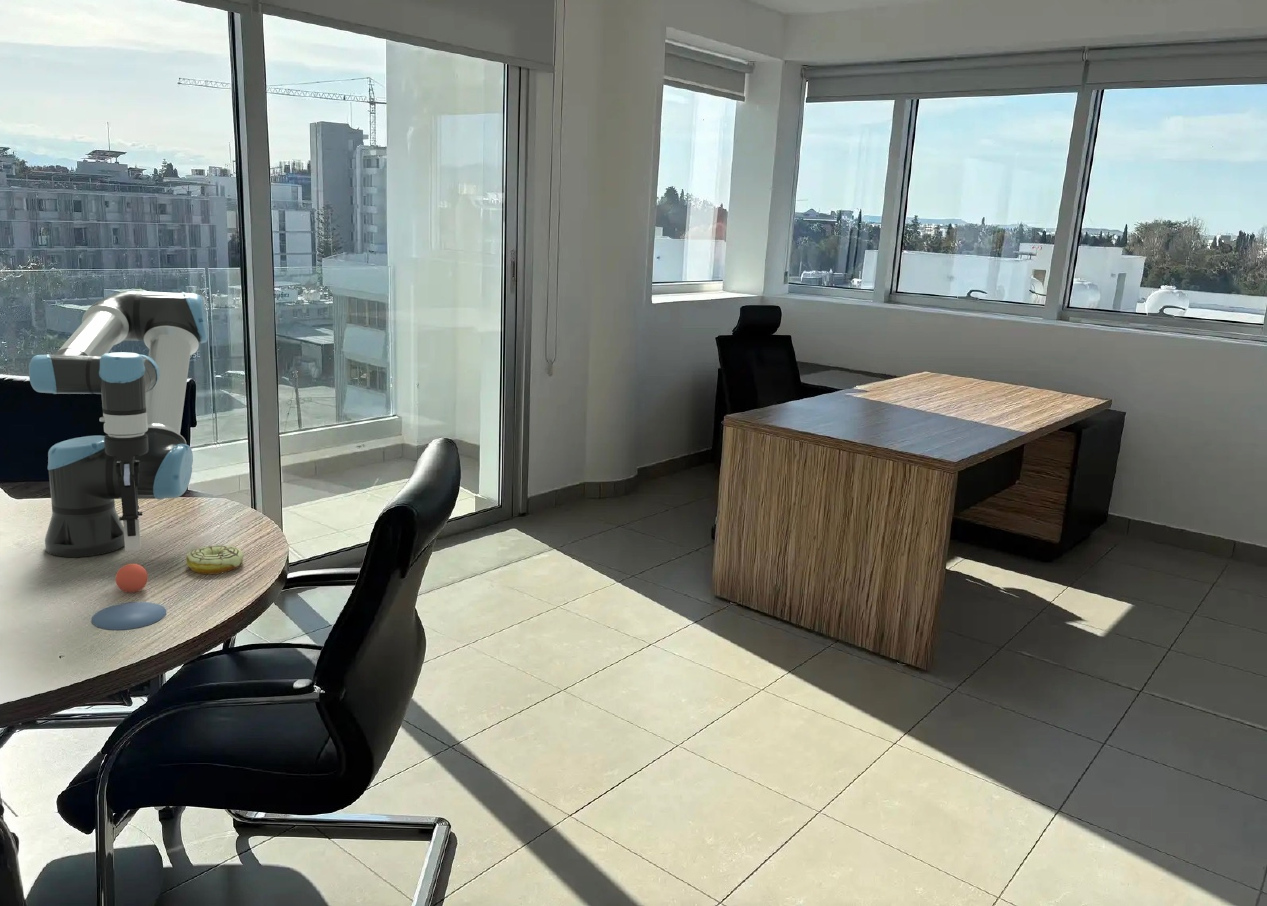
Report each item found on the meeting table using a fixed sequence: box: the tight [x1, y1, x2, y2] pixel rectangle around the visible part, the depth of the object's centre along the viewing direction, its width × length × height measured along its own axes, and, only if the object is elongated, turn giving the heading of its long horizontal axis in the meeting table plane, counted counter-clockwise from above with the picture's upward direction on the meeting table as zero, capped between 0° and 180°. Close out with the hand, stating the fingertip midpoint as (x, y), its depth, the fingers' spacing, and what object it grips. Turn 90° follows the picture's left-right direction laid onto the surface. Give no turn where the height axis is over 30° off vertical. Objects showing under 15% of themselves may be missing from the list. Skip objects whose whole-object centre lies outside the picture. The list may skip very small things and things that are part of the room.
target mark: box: [91, 601, 167, 631], centre depth 175 cm, size 12×12×1 cm
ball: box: [114, 563, 149, 594], centre depth 185 cm, size 6×6×6 cm
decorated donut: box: [185, 544, 244, 575], centre depth 200 cm, size 10×11×4 cm
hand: (132, 549), depth 192 cm, fingers closed
